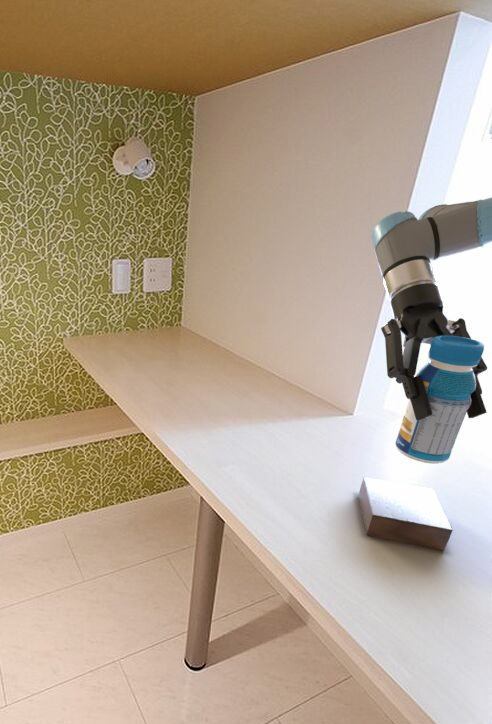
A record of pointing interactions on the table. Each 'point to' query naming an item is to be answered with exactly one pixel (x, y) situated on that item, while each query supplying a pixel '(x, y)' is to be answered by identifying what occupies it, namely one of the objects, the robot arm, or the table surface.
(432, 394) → the beverage bottle
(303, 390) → the table surface
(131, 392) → the table surface
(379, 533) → the riser
